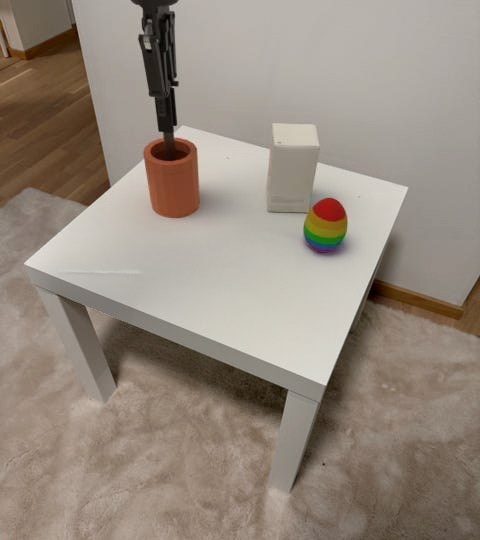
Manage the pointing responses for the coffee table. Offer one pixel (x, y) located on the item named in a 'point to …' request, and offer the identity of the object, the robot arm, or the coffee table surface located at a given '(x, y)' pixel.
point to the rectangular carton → (292, 167)
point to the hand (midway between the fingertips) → (168, 127)
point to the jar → (173, 178)
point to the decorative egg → (325, 225)
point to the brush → (169, 141)
